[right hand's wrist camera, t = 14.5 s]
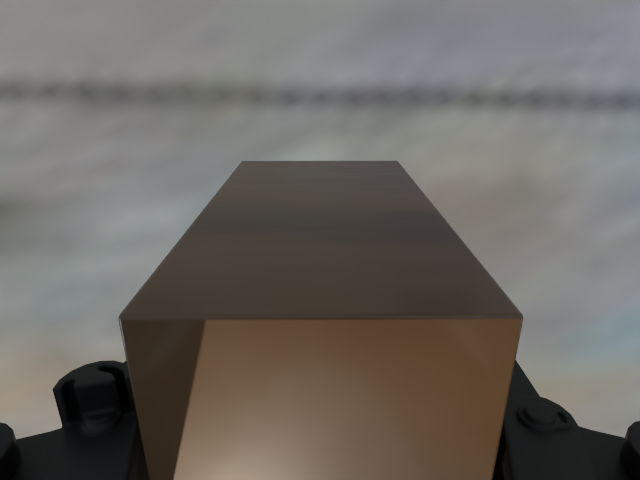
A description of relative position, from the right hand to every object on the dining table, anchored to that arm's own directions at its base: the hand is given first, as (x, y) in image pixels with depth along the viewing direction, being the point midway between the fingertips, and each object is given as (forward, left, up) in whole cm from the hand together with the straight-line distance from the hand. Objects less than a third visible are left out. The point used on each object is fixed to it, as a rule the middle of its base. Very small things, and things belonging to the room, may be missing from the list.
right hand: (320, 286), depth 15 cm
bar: (+8, -4, -1) cm, 9 cm away
